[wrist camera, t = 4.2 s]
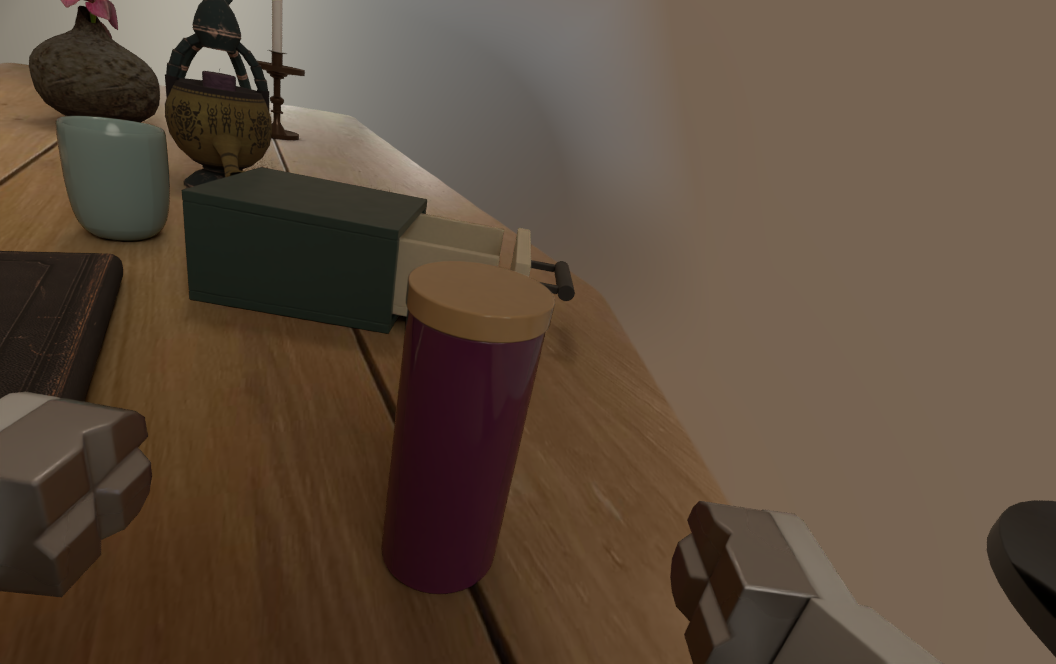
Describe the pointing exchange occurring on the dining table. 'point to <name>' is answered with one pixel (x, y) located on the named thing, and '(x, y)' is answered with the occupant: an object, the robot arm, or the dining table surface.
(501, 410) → the canister
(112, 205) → the cup
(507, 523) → the dining table surface
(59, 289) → the hardcover book
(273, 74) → the candlestick
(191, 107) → the teapot
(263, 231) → the cabinet
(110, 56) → the vase
